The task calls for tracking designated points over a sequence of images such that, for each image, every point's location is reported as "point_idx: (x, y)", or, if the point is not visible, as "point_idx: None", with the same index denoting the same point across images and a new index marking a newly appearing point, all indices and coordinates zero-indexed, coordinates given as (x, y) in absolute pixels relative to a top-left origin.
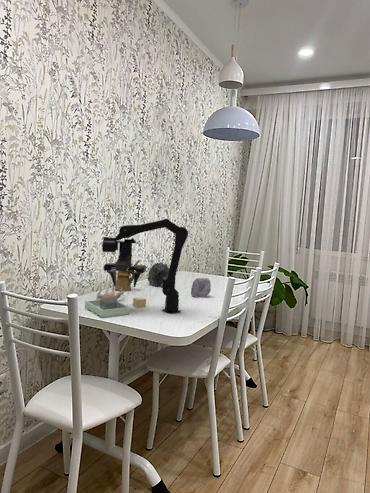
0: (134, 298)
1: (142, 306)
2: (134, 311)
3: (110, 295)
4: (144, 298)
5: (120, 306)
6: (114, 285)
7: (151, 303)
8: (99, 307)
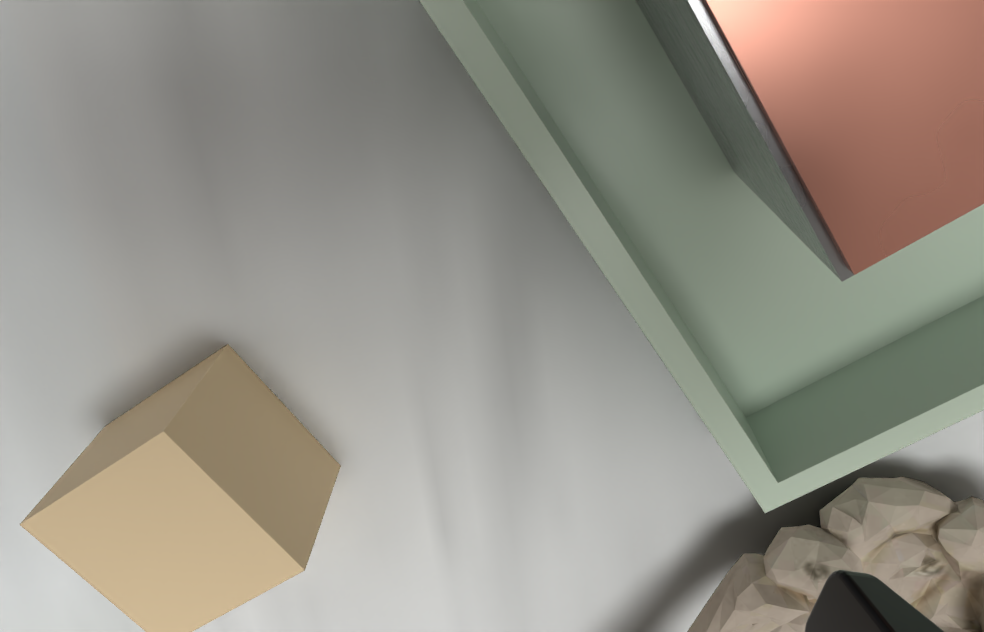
0: (274, 535)
1: (148, 402)
2: (223, 68)
3: (894, 113)
4: (69, 554)
5: (522, 81)
6: (867, 580)
7: (83, 628)
8: None
